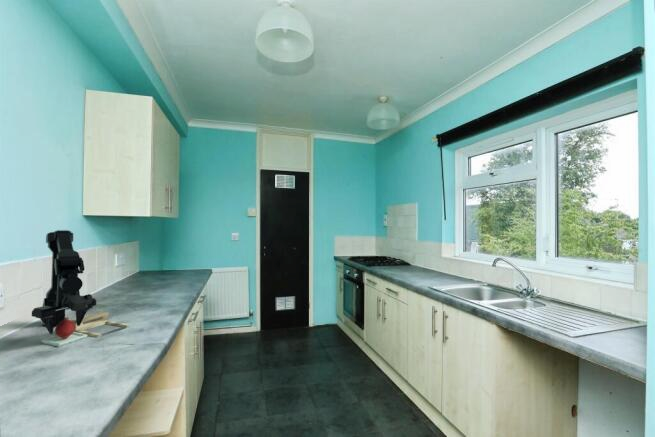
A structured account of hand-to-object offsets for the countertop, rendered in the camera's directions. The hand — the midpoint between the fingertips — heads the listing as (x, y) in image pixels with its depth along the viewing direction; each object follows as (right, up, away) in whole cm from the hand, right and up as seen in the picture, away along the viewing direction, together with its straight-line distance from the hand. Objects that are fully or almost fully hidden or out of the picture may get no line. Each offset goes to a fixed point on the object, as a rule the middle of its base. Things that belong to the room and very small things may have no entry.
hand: (65, 329), depth 115 cm
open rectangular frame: (+4, -4, +12) cm, 14 cm away
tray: (0, -4, 0) cm, 4 cm away
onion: (0, -4, 0) cm, 4 cm away
